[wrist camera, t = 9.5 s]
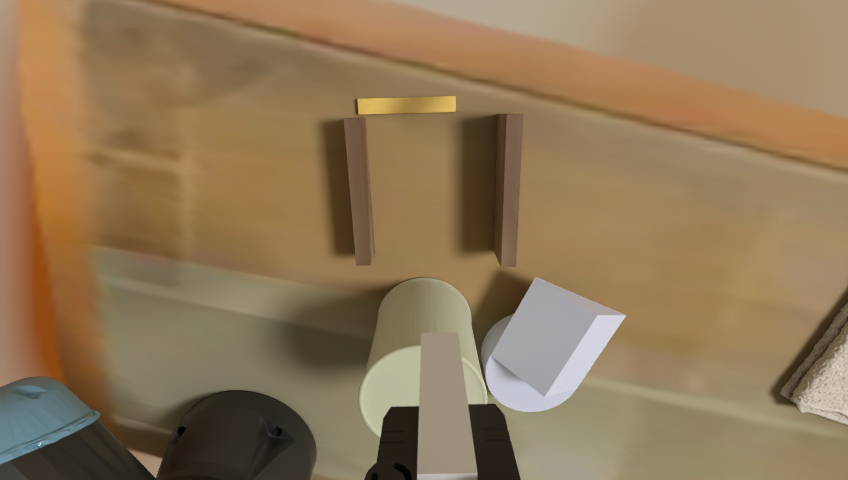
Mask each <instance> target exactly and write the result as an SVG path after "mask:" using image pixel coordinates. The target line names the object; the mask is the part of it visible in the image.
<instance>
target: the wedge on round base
mask: <svg viewBox="0 0 848 480" xmlns="http://www.w3.org/2000/svg"><path fill="white" fill-rule="evenodd" d="M625 316H626V315H624V314H622V313H620V312H617V311H615V310H613V309H610V308H608V307H605V306H603V305H601V304H598V303H596V302H594V301H591V300H589V299H587V298H584V297H582V296H580V295H577V294H575V293H573V292H570V291H568V290H566V289H563V288H561V287H559V286H556V285H554V284H551V283H549V282H547V281H544V280H542V279H540V278H537V277H535V279H534V281H533V282H532V284H531V286H530V288H529V289H528V291H527V293H526V294H525V296H524V298H523V300H522V301H521V303H520V305H519V307H518V308H517V310H516V312H515V314H512V315H509V316H507V317H505V318H503V319H501V320H500V321H498V322H497V323H496V324H495V325H494V326H493V327H492V328H491V329H490V330H489V331H488V333H487V334H486V336H485V338H484V340H483V343H482V347H481V359H482V364H483V368H484V373H485V378H486V382H487V385H488V388H489V390H490V392H491V393H492V395H493V396H494V397H495V398H496V399H497V400H498V401H499V402H500V403H502V404H503V405H505V406H507V407H509V408H512V409H514V410H518V411H524V412H537V411H543V410H547V409H550V408H553V407H555V406H557V405H559V404H561V403H562V402H564V401H565V400H567V399H568V398H569V397H570V396H571V395H572V394H573V393H574V391H575V390H576V389H577V387H578V386H579V384H580V383H581V381H582V380H583V378H584V377H585V375H586V374H587V373H588V371H589V370H590V368H591V367H592V365H593V364H594V362H595V361H596V359H597V358H598V356H599V355H600V353H601V352H602V350H603V349H604V347H605V346H606V344H607V343H608V341H609V340H610V338H611V337H612V335H613V334H614V333H615V331H616V330H617V328H618V327H619V325H620V324H621V322H622V321H623V319H624V318H625Z"/></svg>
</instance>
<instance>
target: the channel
mask: <svg viewBox="0 0 848 480" xmlns="http://www.w3.org/2000/svg"><path fill="white" fill-rule="evenodd" d="M357 100H358V114H392V113H428V112H456V96H444V97H409V98H374V99H357ZM344 129H345V140H346V152H347V164H348V175H349V187H350V199H351V210H352V222H353V234H354V246H355V257H356V265H370V264H371V262H372V259H373V257H374V254H375V250H374V235H373V221H372V206H371V192H370V177H369V163H368V148H367V134H366V119H365V118H350V119H344ZM522 129H523V114H498V118H497V151H496V185H495V218H494V253H495V255H496V257H497V259H498V261H499V263H500V266H501V267H516V251H517V231H518V210H519V190H520V170H521V149H522Z"/></svg>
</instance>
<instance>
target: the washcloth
mask: <svg viewBox="0 0 848 480" xmlns="http://www.w3.org/2000/svg"><path fill="white" fill-rule="evenodd" d="M780 394H781V395H782V396H784V397H786V398H788V399H790V400H791V401H792V402H794V403H796V405H797V407H798V410H799V411H800V413H804V412H809V413H813V414H817V415H820V416H823V417H825V418H828V419H831V420H835V421H838V422H841V423H844V424H847V425H848V301H847V303H846V304H845V306H843V307H842V309H841V312H840V313H839V314H838V315H837V316H836V317H835V318H834V320H833V322H832V323H831V324H830V326H829V328H828V329H827V330H826V332H825V333H824V335H823V337H822V338H821V339H820V340H819V342H818V343H817V344H816V345H815V346H814V350H813V351H812V352H811V353H810V355H809V356H808V357H807V358H806V359H805V360H804V362H803V363H802V364H801V365H800V366H799V368H798V369H797V371H796V372H795V373H794V374H793V375H792V377H791V378H790V379H789V380H788V381H787V383H786V384H785V385H784V386H783V387H782V389H781V391H780Z"/></svg>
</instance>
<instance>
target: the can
mask: <svg viewBox="0 0 848 480" xmlns="http://www.w3.org/2000/svg"><path fill="white" fill-rule="evenodd" d="M471 323H472V318H471V311H470V308H469V305H468V303H467V301H466V299H465V298H464V297H463V295H462V294H461V293H460V292H459V291H458V290H457V289H456V288H454V287H453V286H451V285H450V284H448V283H446V282H444V281H441V280H438V279H433V278H415V279H411V280H407V281H405V282H402V283H400V284H399V285H397V286H396V287H394V288H393V289H392V290H391V291H389V293H388V294H387V295H386V296H385V297H384V299H383V301H382V302H381V304H380V307H379V310H378V316H377V326H376V331H375V335H374V339H373V343H372V347H371V351H370V355H369V359H368V363H367V366H366V370H365V374H364V377H363V379H362V382H361V385H360V389H359V407H360V411H361V414H362V417H363V419H364V421H365V422H366V424H367V426H368V427H369V428H370V429H371V431H372V432H373V433H374V434H375V435H377V436H378V437H379V438H380V437H381V430H382V423H383V418H384V416H385V415H386V413H387V412H388V410H389V409H390V407H397V406H419V391H420V358H421V333H449V332H458V336H459V343H460V350H461V358H462V365H463V372H464V379H465V386H466V394H467V401H468V404H487V390H486V386H485V383H484V380H483V377H482V373H481V368H480V364H479V360H478V355H477V350H476V345H475V340H474V335H473V330H472V325H471Z"/></svg>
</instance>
